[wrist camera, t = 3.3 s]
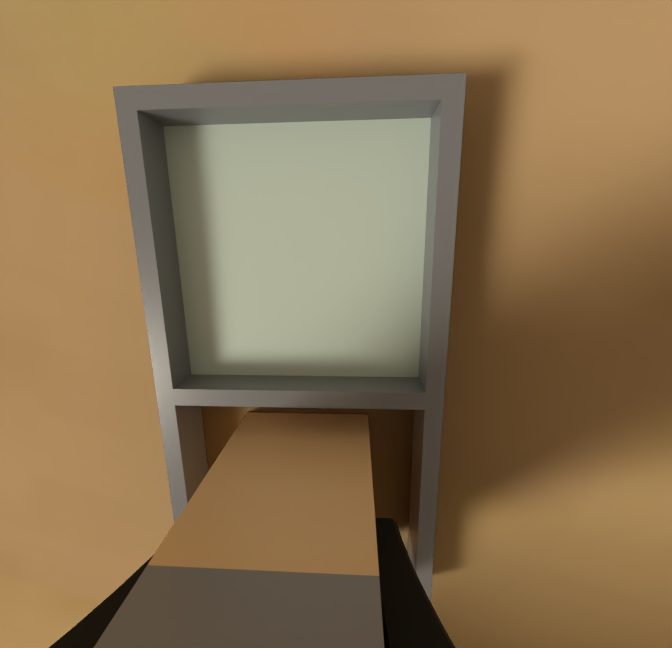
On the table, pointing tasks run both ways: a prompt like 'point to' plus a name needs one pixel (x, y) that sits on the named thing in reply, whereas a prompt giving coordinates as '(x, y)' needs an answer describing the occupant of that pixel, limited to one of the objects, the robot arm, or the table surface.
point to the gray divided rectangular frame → (297, 255)
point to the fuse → (268, 546)
